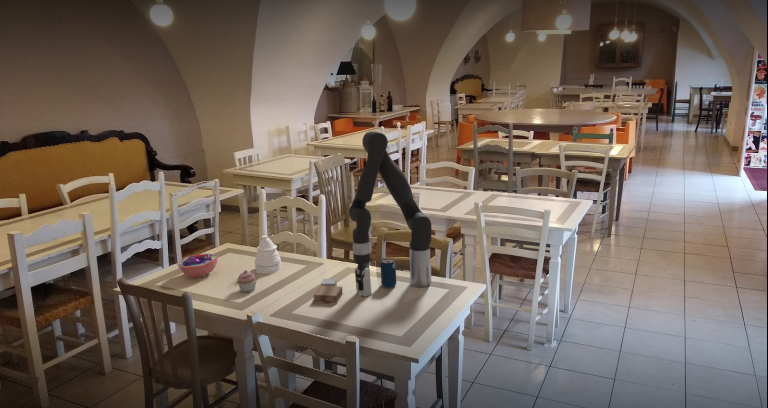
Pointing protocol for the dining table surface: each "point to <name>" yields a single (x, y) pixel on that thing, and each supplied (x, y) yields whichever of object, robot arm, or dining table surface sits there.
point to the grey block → (329, 282)
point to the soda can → (388, 273)
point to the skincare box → (365, 283)
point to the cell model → (198, 265)
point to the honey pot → (267, 257)
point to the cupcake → (246, 281)
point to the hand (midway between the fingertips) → (363, 286)
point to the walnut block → (328, 294)
